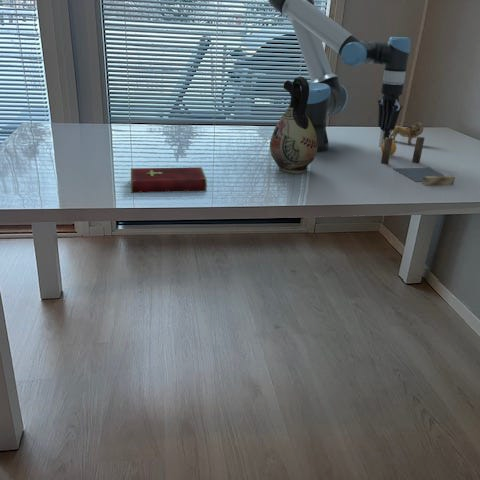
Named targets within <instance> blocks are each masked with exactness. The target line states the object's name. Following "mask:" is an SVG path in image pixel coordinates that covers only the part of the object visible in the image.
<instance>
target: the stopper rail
mask: <svg viewBox="0 0 480 480" xmlns="http://www.w3.org/2000/svg"><path fill="white" fill-rule="evenodd" d="M444 175H445V174H444ZM455 179H456V177H455V176H453V175H451V174H448V175H445V176H424V177H423V182H421V184H422V185H423V186H425V187H428V186H429V187H430V186H431V187H433V186H435V187H436V186H454V184H455V181H456V180H455Z"/></svg>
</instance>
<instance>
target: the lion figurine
mask: <svg viewBox="0 0 480 480" xmlns="http://www.w3.org/2000/svg"><path fill="white" fill-rule="evenodd" d="M424 127H425V124H423V123H421V122H416V123H415V124H412V125H409V126H408V127H403V126H400V125H395V128H394V130H391V131H390V134H389V137H390V138H393V141H392V142H394V143H395V144H396V143H397V140H396V137H397V135H400V136H401V137H406V138H407V139H408V140H407V144H408V145H409V146H412V139H415V138H416V139H417V137H419V136H421V135H422V133H423V131H424Z"/></svg>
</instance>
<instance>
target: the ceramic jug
mask: <svg viewBox="0 0 480 480" xmlns="http://www.w3.org/2000/svg"><path fill="white" fill-rule="evenodd" d="M308 83H309V82H308V80H307V78H305V77H303V76H298V77H295V78H294V79H293V81H292V82H291V81H290V80H288V79H287V80H286V81H285V82H284V83H283V89H284V90H285V91H286V92H288V93H289V95H290V101H289V102H290V103H289V106H288V107H287V109H286V111H284V113H283V114H282V116H280V119H279V120H278V121H277V124H276V125H275V127H274V129H273V132H272V134H271V137H270V141H269V142H270V143H269V150H270V151H269V152H270V155H271V157H272V159H273V160H274V162H275V163H276V165H277V167H278V170H280V171H281V172H283V173H287V174H302V173H305V172H307V170H308V166H309V165H310V164H312V162H313V161H314V160H315V158H316V156H317V153H318V152H317V137H316V133H315V130H314V127H313V125H312V123H311V121H310V119H309V117H308V116H307V114H306V107H307V101H308V97H309V84H308Z"/></svg>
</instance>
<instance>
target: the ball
mask: <svg viewBox="0 0 480 480" xmlns="http://www.w3.org/2000/svg"><path fill="white" fill-rule="evenodd" d="M383 148H384V143H383V144H382V146H381V148H380V150H381V153H383ZM396 151H397V145H396V143H394V142H393V141H392V146H391V152H390V156H392V155H394V154H395V152H396Z"/></svg>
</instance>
